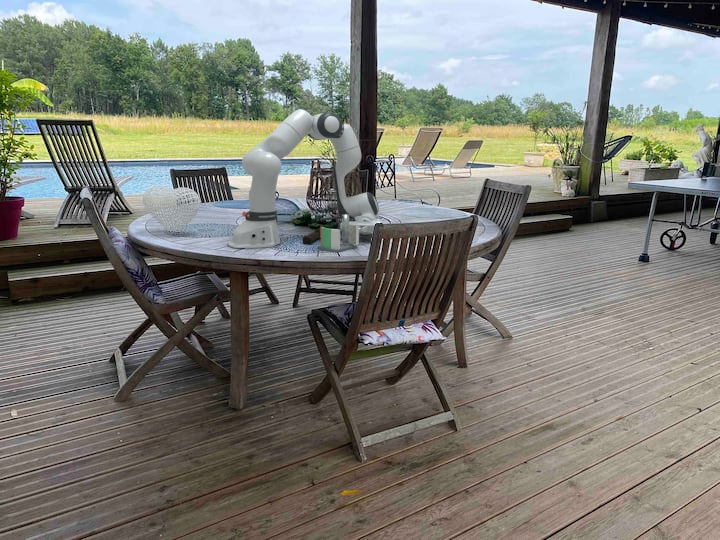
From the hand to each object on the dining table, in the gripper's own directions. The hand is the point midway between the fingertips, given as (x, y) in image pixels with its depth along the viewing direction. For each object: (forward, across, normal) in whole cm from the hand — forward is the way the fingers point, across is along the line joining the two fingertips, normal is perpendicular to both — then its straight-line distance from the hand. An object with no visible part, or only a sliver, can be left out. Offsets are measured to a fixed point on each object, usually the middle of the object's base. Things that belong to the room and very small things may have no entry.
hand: (360, 230), depth 216 cm
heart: (-2, -89, +6) cm, 89 cm away
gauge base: (+8, -8, +6) cm, 13 cm away
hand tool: (-5, -22, +7) cm, 24 cm away
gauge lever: (+10, -7, +4) cm, 13 cm away
